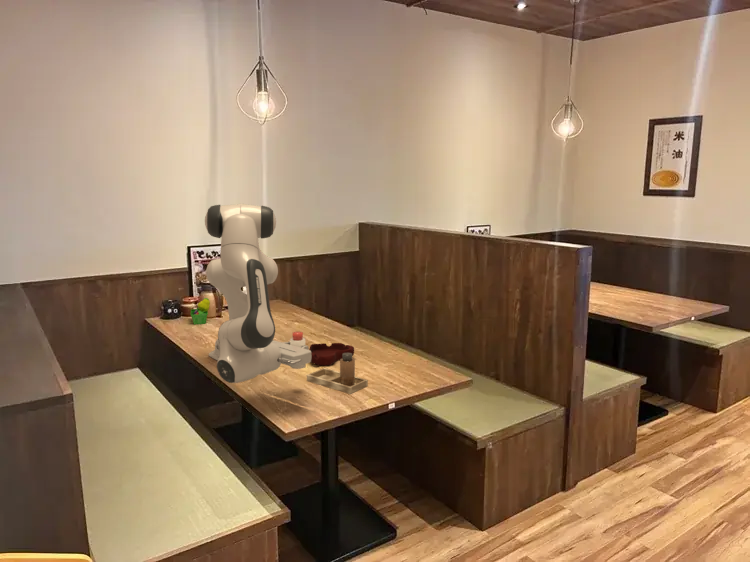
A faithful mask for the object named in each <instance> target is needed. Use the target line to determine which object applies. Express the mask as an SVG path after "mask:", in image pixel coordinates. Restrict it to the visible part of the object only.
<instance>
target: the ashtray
mask: <svg viewBox="0 0 750 562" xmlns="http://www.w3.org/2000/svg"><path fill="white" fill-rule="evenodd" d="M309 350H310V351H311V355H312V358H311V362H310V363H312V364H314V365H315V366H320V367H327V366H331V365H333V364H334V363H335V362H338V361H340V359H342V358H343V357H342V354H343V353H352V357H353V356H354V355H355V348H354V346H353V345H349V344H346V343H342V342H332V343H331V344H330V345H327V343H325V342H324V343H312V344H310V346H309Z"/></svg>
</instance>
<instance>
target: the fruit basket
mask: <svg viewBox="0 0 750 562" xmlns="http://www.w3.org/2000/svg"><path fill="white" fill-rule="evenodd" d="M210 304H211V301H210V299H209V298H208V297H207V298H206V297H204V298H203V299H202V300H201V301H199V302H198V304H197V308H193V309H190V317H191V320H192V322H193V324H194V326H195V325H205V324H206V323H207V318H208V315H209V309H210Z"/></svg>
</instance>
